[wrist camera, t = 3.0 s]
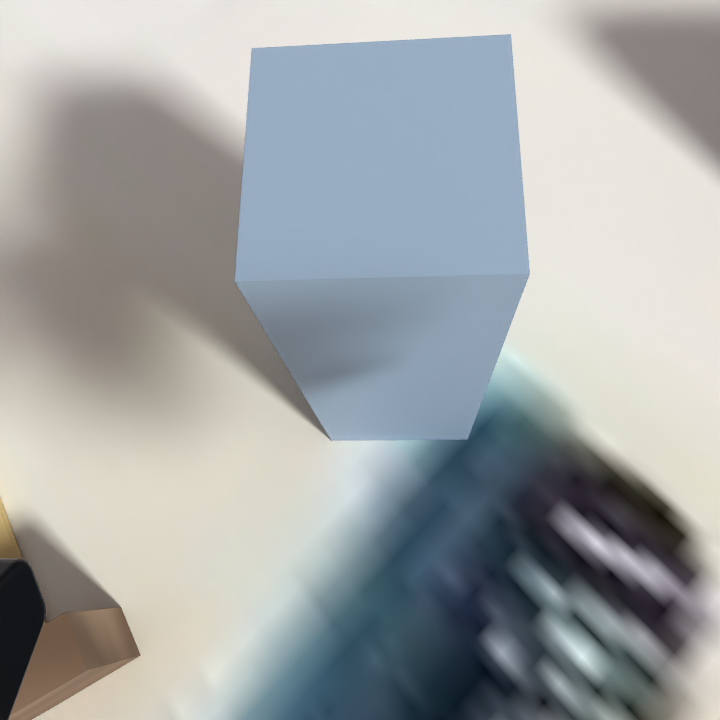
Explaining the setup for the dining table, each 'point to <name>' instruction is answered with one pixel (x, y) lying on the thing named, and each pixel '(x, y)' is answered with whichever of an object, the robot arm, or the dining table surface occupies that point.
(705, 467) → the dining table surface
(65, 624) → the wooden t-shaped piece
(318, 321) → the large blue square block
